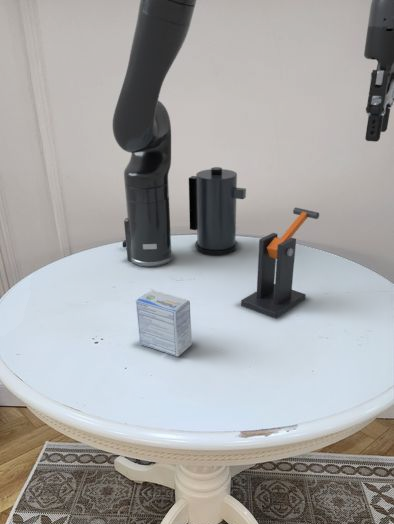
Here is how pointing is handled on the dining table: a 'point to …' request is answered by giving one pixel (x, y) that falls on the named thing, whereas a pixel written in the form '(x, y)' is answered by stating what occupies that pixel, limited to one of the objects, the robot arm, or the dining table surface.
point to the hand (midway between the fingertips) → (376, 136)
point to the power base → (279, 294)
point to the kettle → (214, 210)
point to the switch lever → (291, 229)
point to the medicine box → (164, 322)
